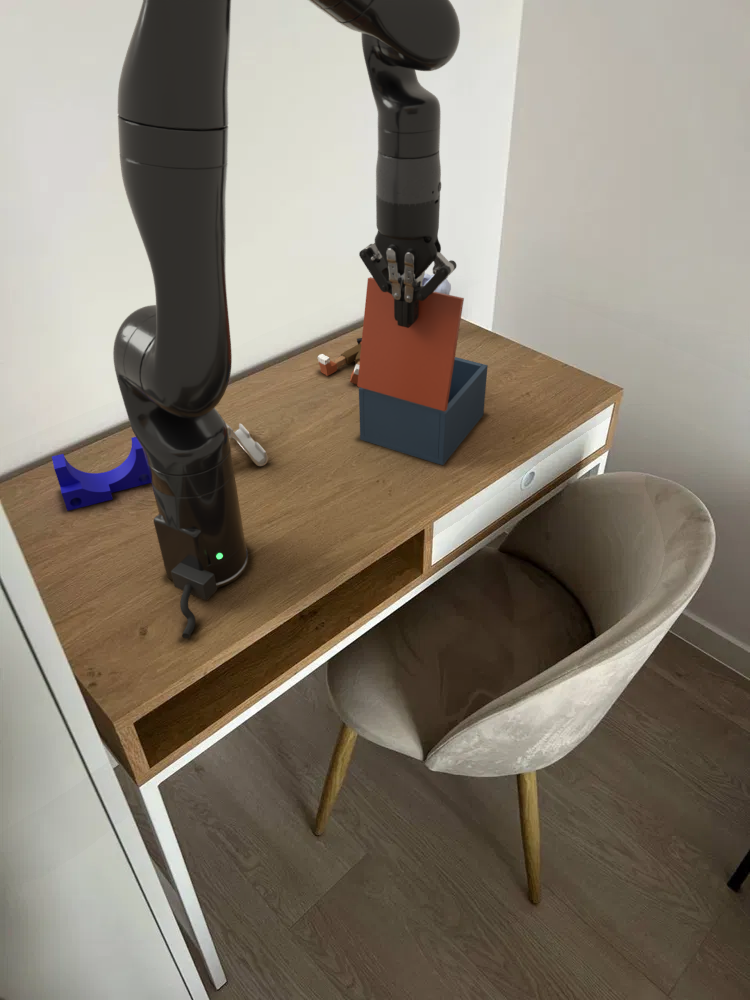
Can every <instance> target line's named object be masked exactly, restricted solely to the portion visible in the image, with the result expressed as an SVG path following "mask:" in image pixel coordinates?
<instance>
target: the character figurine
mask: <svg viewBox="0 0 750 1000" xmlns="http://www.w3.org/2000/svg"><path fill="white" fill-rule="evenodd" d="M356 342H357V344H356V345H354V346H352V347H351V348H349V349H347V350H345V351H344V352H342V353H341V354H340V356H338V357H337V358H335V360H334V361H332V360H330V359H331V358H330V357H329V356H327V355H326V354H324V353H320V354H319V355H317V361H318V364H319V369H320V373H322V374H323V375H325V376H326V377H329V376H330V375H332V374H333V373H335V372H337V371H338V368H339V367H342V366H344V365H350V364H352V363H354V362H355V365H354V368H353V370H352V372H351V374H350V379H349V383H352V384H354V385H357V384H358V374H359V364H360V353H361V343H362V337H359V338H356Z"/></svg>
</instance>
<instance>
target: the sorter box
mask: <svg viewBox="0 0 750 1000" xmlns="http://www.w3.org/2000/svg"><path fill="white" fill-rule="evenodd" d="M488 367H489V365H488V364H485V363H480V362H477V361H473V360H470V359H465V358H461V357H457V356H455V360H454V366H453V373H452V379H451V386H450V392H449V399H448V406H447V410H446V411H442V410H438V409H435V408H431V407H428V406H424V405H420V404H417V403H413V402H410V401H406V400H403V399H399V398H396V397H392V396H389V395H385V394H382V393H378V392H375V391H371V390H368V389H364V388H361V387H358V411H359V412H358V413H359V440H360V441H364V442H366V443H369V444H373V445H376V446H380V447H383V448H386V449H389V450H392V451H395V452H399V453H402V454H405V455H408V456H412V457H415V458H418V459H421V460H425V461H427V462H431V463H434V464H437V465H440V466H444V465H445V464H446V463H447V461H449V459H450V457H451V456H452V455H453V454H454V452H455V451H456V450H457V449H458V447H459V446H460V445H461V443H463V441H464V440H465V439H466V438H467V436H468V435H469V434H470V433H471V431H472V430H473V429H474V427H476V425H477V424H478V423H479V422H480V421H481V419H482V418H483V416H484V412H485V403H486V401H485V400H486V390H487V389H486V388H487V379H488Z"/></svg>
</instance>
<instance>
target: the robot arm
mask: <svg viewBox="0 0 750 1000" xmlns="http://www.w3.org/2000/svg"><path fill="white" fill-rule="evenodd" d="M307 1H308V2H309V3H311V4H312V5H313V6H315V7H316V8H317V9H319V10H320V11H321V12H323V13H324V14H326V15H327V16H329V17H330V18H331V19H332V20H334V21H335V22H336V23H338V24H340V25H341V26H343V27H345V28H347V29H349V30H351V31H354V32H356V33H357V32H358V33H360V34H361V35H360V37H361V39H360V40H361V48H362V54H363V58H364V63H365V67H366V71H367V75H368V81H369V83H370V88H371V93H372V97H373V100H374V103H375V107H376V112H377V156H376V165H375V208H376V211H375V213H376V215H375V219H376V220H375V221H376V230H377V232H376V234H375V236H374V242H373V243H369V244H368V245H366V246H365V247H364V248H363V249H362V250H360V251H359V253H358V255H359V256H358V257H359V258H360V260H361V261H362V262H363V264H364V266H365V267H366V269H367V270H368V272H369V274H370V275H371V277H372V278H374V280H375V281H376V283H377V285H378V286H379V288H380V289H381V291H383V292H388V293H390V294H392V296H393V298H394V318H395V320H396V321H397V324H398V326H402V327H406V328H409V327H410V326H411V325H412V324H413V323H414V322H415V321H417V319H418V316H419V300H420V301H424V300H425V299H426V298H427V297H428V296H429V295H430V294H432V293H433V292H434V291H435V290H436V289H437V288H438V287H439V285H440V284H441V283H442V282H443V281H444V280H445V279H446V278H447V277H448V278H449V276H450V275H451V274H452V273H453V272H454V271H455V270H456V269H457V263H456V261H455V260H453V259H452V260H451V259H450V260H448V259H447V258H446V257H445V256H444V255H443V254H442V245H441V243H440V241H439V237H438V235H439V229H440V209H441V208H440V207H441V206H440V205H441V204H440V203H441V190H442V181H441V178H442V177H441V175H442V167H441V166H442V165H441V156H440V155H441V154H440V148H441V146H440V145H441V117H442V116H441V115H442V114H441V112H442V111H441V103H440V100H439V98H438V97H437V96H436V95H435V94H433V93H432V92H431V91H430V90H428V89H427V88H425V87H424V86H422V85H421V83H420V82H419V80H418V76H417V72H416V71H419V72H433V71H437V70H439V69H441V68H443V67H445V66H446V65H447V64H448V63H449V62H450V61H451V60H452V58H453V57H454V56H455V53H456V52H457V50H458V47H459V43H460V39H461V26H460V19H459V16H458V14H457V11H456V8H455V7H454V6H453V4H452V2H451V1H450V0H307ZM141 3H142V4H141V6H140V10H139V13H138V17H137V20H136V23H135V26H134V29H133V32H132V35H131V38H130V41H129V44H128V47H127V50H126V52H125V53H126V54H125V57H124V61H123V64H122V68H121V71H120V76H119V81H118V88H117V129H118V130H117V132H118V133H117V134H118V150H119V151H118V153H119V161H120V162H119V163H120V171H121V178H122V182H123V187H124V191H125V195H126V198H127V201H128V204H129V208H130V210H131V213H132V216H133V219H134V222H135V225H136V228H137V229H138V232H139V236H140V239H141V241H142V244H143V246H144V250H145V252H146V256H147V258H148V262H149V265H150V266H149V267H150V269H151V274H152V279H153V284H154V285H153V286H154V293H155V304H149V305H146V306H142V307H140V308H137V309H136V310H134V311H133V312H131V313H129V315H128V316H127V317H126V318H125V319H124V320H123V322H122V323H121V324H120V326H119V328H118V330H117V332H116V335H115V338H114V341H113V342H114V343H113V350H112V356H113V358H112V359H113V364H114V365H113V367H114V372H115V376H116V380H117V383H118V387H119V391H120V395H121V398H122V402H123V405H124V408H125V412H126V414H127V418H128V421H129V424H130V427H131V430H132V432H133V435H134V437H136V438H137V439H138V441H139V443H140V444H141V446H142V448H143V450H144V453H145V457H146V461H147V466H148V470H149V474H150V478H151V483H150V484H151V486H152V491H153V495H154V499H155V503H156V508H157V513H158V514H157V515H156V516H155V517H154V518H153V526H154V528H155V533H156V538H157V542H158V546H159V550H160V553H161V558H162V562H163V565H164V569H165V574H166V577H167V579H169V580H172V581H173V584H174V588H176V589H179V590H181V591H182V593H181V597H180V602H179V603H180V604H179V606H180V611H181V613H182V615H183V616H184V617H185V618H186V620H187V623H186V626H185V628H184V629H183V632H182V634H181V636H182V638H183V639H190V638H191V635H192V634H193V632H194V630H195V627H196V617H195V614H194V613H193V612H192V610H191V609H190V607H189V600H190V596H191V595H192V596H195V597H197V598H199V599H202V600H204V601H208V600H209V599H210V598H211V597H212V596H213V595H214V594H215V593H216V592H217V591H218V589H219V588H222V587H224V586H227V585H230V584H232V583H233V582H234V581H236V580H237V579H238V578H240V577H241V576H242V574H244V572H245V570H246V569H247V568H248V563H249V552H248V549H247V546H246V538H245V531H244V525H243V520H242V514H241V513H242V512H241V507H240V500H239V495H238V494H239V493H238V487H237V482H236V476H235V467H234V461H233V455H232V449H231V442H230V441H231V440H230V439H229V434H228V429H227V426H226V423H227V422H226V421H225V420H224V418H223V417H222V415H221V414H220V412H219V411H218V410H217V409H216V407H217V405H219V404H220V402H221V400H222V399H223V397H224V395H225V393H226V391H227V388H228V386H229V383H230V382H229V381H230V378H231V373H232V360H233V359H232V357H233V355H232V340H231V330H230V329H231V328H230V319H229V306H228V293H227V272H226V270H227V269H226V250H227V249H226V246H227V245H226V244H227V243H226V242H227V241H226V240H227V238H226V237H227V235H226V234H227V229H226V228H227V223H226V221H227V218H226V215H227V213H226V212H227V211H226V209H227V208H226V207H227V206H226V205H227V203H226V202H227V180H228V165H229V163H228V161H229V160H228V159H229V158H228V157H229V69H230V68H229V67H230V46H231V44H230V43H231V20H232V19H231V18H232V14H231V13H232V0H142V2H141ZM432 263H433V267H432V275H434V274H435V275H434V276H433V277H432V278H431V279H430V280H429V281H428V282H427V283H426V285H425V286H422V280H423V278H424V275H425V274H426V272H425V271H427V270H428V269H429V267H430V266H431V265H432ZM448 278H447V279H448ZM224 421H225V422H226V423H225V422H224Z"/></svg>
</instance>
